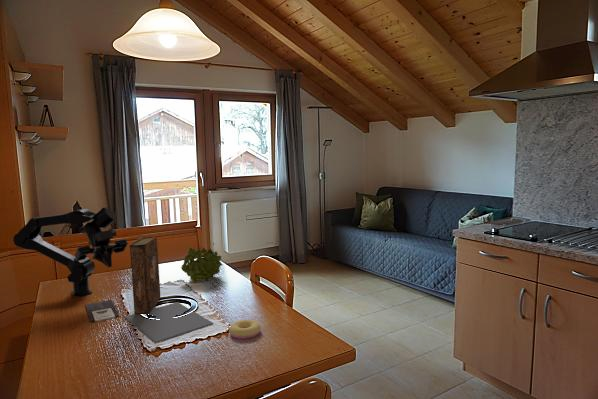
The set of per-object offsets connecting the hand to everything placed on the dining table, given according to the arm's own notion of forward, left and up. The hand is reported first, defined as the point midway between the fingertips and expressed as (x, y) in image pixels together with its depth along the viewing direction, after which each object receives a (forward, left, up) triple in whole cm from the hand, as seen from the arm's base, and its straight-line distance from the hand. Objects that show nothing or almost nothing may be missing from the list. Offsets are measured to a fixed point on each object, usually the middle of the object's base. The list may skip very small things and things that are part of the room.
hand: (110, 266), depth 159 cm
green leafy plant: (+2, +39, -14) cm, 41 cm away
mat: (+33, +8, -14) cm, 36 cm away
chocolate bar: (+8, -6, -14) cm, 17 cm away
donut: (+58, +22, -14) cm, 64 cm away
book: (+16, +8, -14) cm, 22 cm away
